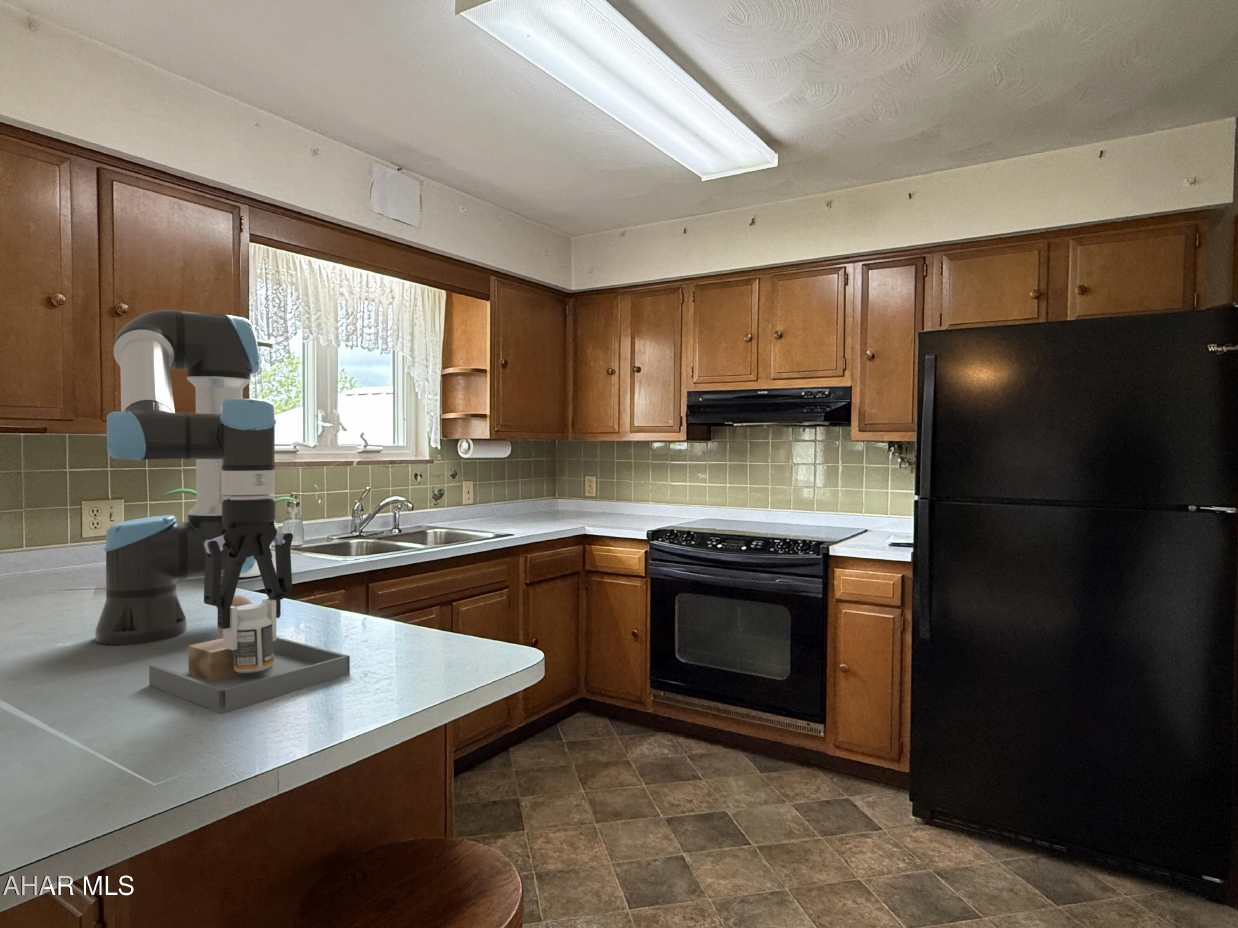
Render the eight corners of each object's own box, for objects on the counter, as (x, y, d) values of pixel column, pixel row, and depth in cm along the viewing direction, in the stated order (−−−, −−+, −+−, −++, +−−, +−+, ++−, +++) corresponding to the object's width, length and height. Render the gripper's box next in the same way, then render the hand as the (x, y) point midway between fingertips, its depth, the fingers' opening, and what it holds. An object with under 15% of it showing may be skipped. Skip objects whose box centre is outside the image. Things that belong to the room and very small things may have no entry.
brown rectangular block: (188, 673, 116) (188, 645, 116) (249, 658, 124) (249, 632, 124) (211, 681, 112) (211, 652, 112) (273, 665, 120) (272, 638, 120)
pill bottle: (262, 661, 119) (259, 601, 118) (281, 666, 115) (278, 604, 115) (226, 670, 114) (223, 607, 114) (245, 676, 111) (242, 611, 110)
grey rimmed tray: (149, 684, 112) (149, 665, 112) (275, 653, 129) (275, 636, 129) (221, 713, 100) (220, 690, 100) (349, 674, 118) (349, 655, 117)
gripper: (199, 501, 105) (201, 662, 105) (316, 495, 120) (317, 634, 121) (174, 499, 109) (176, 653, 109) (290, 493, 124) (291, 628, 125)
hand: (250, 643), depth 115 cm, fingers closed on pill bottle, 6 cm apart
